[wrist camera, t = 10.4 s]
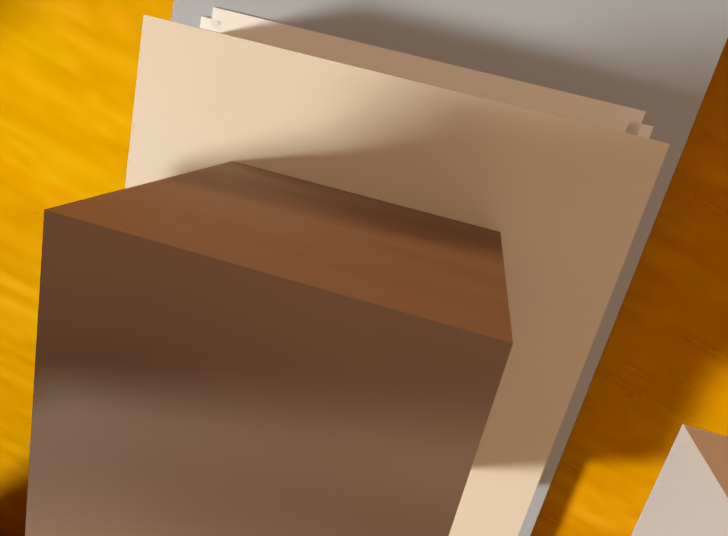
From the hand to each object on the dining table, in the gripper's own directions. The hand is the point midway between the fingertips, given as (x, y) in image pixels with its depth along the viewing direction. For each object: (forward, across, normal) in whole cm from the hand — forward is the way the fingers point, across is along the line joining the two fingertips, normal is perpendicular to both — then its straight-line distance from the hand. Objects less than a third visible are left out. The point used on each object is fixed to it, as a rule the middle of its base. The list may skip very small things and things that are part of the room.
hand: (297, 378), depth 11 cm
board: (+8, 0, 0) cm, 8 cm away
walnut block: (+3, 0, 0) cm, 3 cm away
